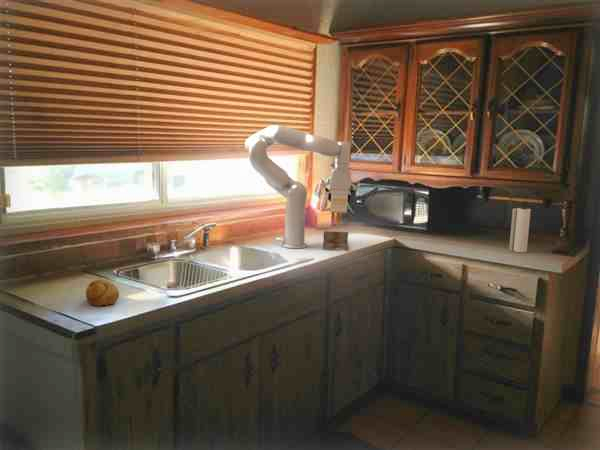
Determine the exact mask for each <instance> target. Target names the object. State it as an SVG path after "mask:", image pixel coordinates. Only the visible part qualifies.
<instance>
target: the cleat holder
mask: <svg viewBox="0 0 600 450" xmlns="http://www.w3.org/2000/svg"><path fill="white" fill-rule="evenodd" d="M322 242H323V243H322V250H323V251H340V250H344V252H348V251H349V231H330V230H329V231H328V230H327V231H326V230H324V231H323V241H322Z"/></svg>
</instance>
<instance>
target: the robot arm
mask: <svg viewBox="0 0 600 450" xmlns="http://www.w3.org/2000/svg"><path fill="white" fill-rule="evenodd" d="M273 144H279V145H282V146H287V147H290V148H294V149H296V150H300V151H301V150H302V151H307V152H314V153H318V154H320V155H322V156H324V157H325V156H326V157H331V158H332V157H333V163H331V164H330V167H332V169H331V172H330V178H329V179H330V180H329V181H327V182H325V183H323V184H322V186H323V188H324V190H325V191H326V192H327V194H328V195H327V200H328V201H329V202H330V203H331V192H332V189H333V190H348V202H347V204H349V202H351V195H352V194H353V193H354V192H355V191H356V190H357V188H358V187H357V185H355V184H354V183H353V182H352V181H351V180H352V177H351V176H352V174H351V170H349V169H350V157H351V156H350V155H351V154H350V153H351V143H350V142H348V141H341V140H339V141H336V140H333V139H330V138H325V137H322V136H320V135H315V134H312V133H309V132H307V131H306V132H305V131H302V130H299V129H295V128H292V127H287V126H285V125H281V124H272V125H269V126H267V127H266V128H263V129H262V130H260V131H258V132H256V133H254V134H253V135H250V136H248V138H247V139H246V140H245V142H244V148H245V150H246V152H247V153H248V156H249V161H250V165H251V166H252V168H253V169H254V170H255V171H256V172H257V173H258V174H260V176H262V177H263V178H264V180H265V182H266V183H267V185H268V186H269V187H270V188H272V189H273V190H275V191H276V192H277V193H278V194H279V195H281V196H283V198H285V199H286V203H285V211H284V212H285V213H284V215H285V217H284V218H285V221H284V222H285V223H284V224H285V225H284V226H285V227H284V228H285V229H284V236H282V237H277V236H276V237H275V242H280V243H281V242H282V243H281V247H282V248H286V249H297V250H298V249H305V248H307V247H308V243H307V242H305V227H306V226H305V225H306V224H305V223H306V203H307V198H308V197H307V196H308V190H307V188H306V186H305V185H304V184H303V183H301V182H299V181H296V180H294V179H292V178H291V176H289V174H288V173H287V171H286V170H285V169H283V168H282V167H281V166H279V165H278V164H277V163H276V162H274V161H273V159H271V158H270V157H269V156H268V153H267V149H268V148H269V147H270V146H272V145H273ZM328 185H329V188H328V187H327V186H328ZM351 187H352V189H351Z"/></svg>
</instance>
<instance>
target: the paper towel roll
mask: <svg viewBox="0 0 600 450" xmlns="http://www.w3.org/2000/svg"><path fill="white" fill-rule="evenodd" d="M530 219H531V208H525V207H516V208H512V214H511V224H510V235H509V236H510V237H509V246H508V247H509V249H508V251H510V252H511V251H513V252H515V253H521V254H522V253H523V254H524V253H527V252H528V251H527V250H528V243H529V242H528V241H529V233H530V232H529V230H530V223H531V222H530Z"/></svg>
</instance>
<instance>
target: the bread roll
mask: <svg viewBox="0 0 600 450" xmlns="http://www.w3.org/2000/svg"><path fill="white" fill-rule="evenodd" d="M85 297H86V300H87V302H88V303H89V304H90V305H92V306H95V305H96V306H95V307H103V306H102V305H106V306H109V304H110V305H114V303H116V302H117V301H118V299H119V297H120V291H119V289H118V287H117V286H116V285H115V284H114V283H112V282H110V281H109V280H108V281H107V279H101V278H100V279H96V280H93V281H91V282H90V283H89V284H88V285H87V287H86V290H85Z"/></svg>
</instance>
